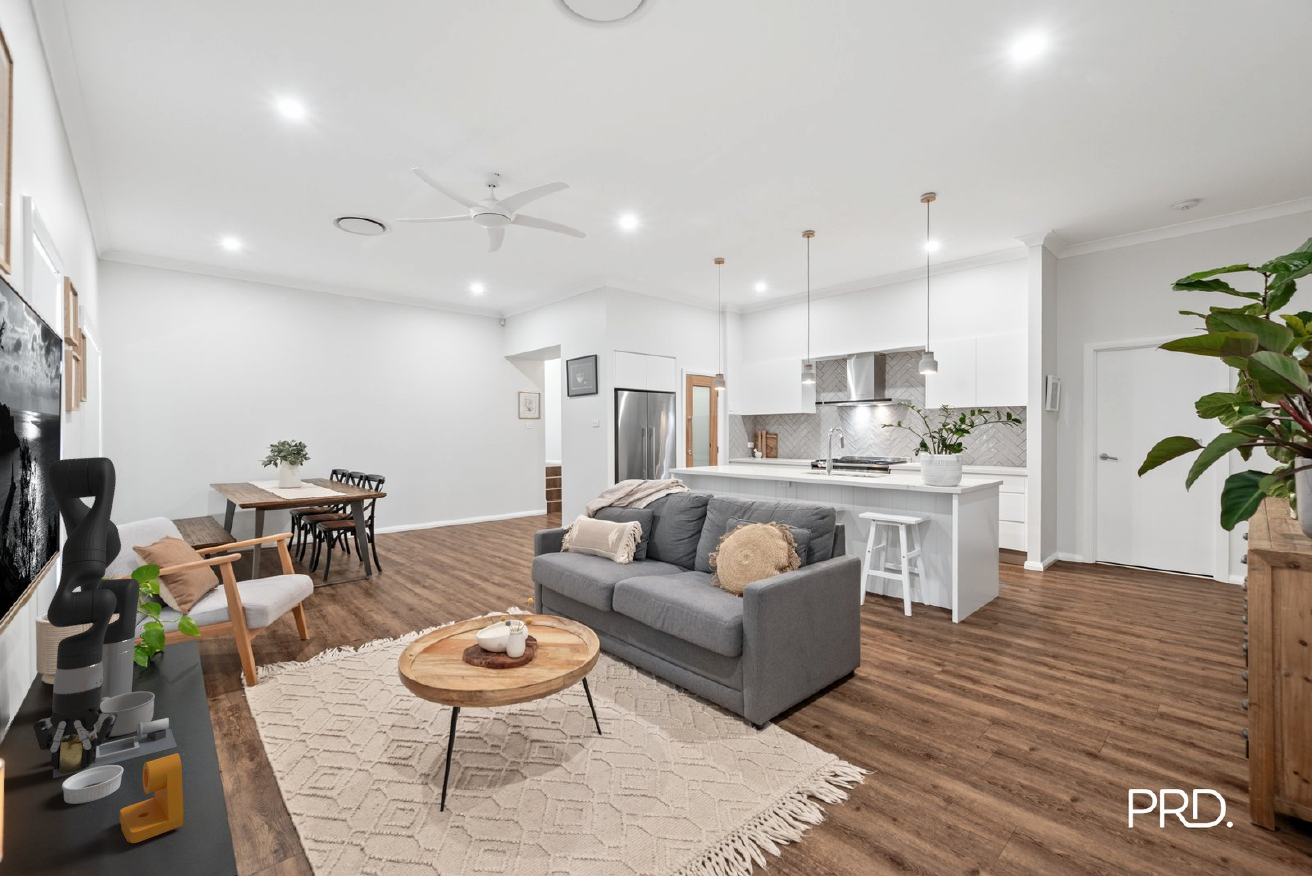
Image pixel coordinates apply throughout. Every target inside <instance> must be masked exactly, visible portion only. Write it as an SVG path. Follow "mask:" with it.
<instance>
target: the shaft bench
mask: <svg viewBox="0 0 1312 876" xmlns="http://www.w3.org/2000/svg"><path fill="white" fill-rule="evenodd" d="M169 719H170V718H169V717H164V718H162V719H160V718H159V719H156V720H153V721H152V720H151V722H147V723H143V724H142V722H141V723H138V726H137V731H136V733H137V734H136V735H134V736H131V737H127V738H121V739H118V740H114V741H109V742H103V743H102V744H101V745H100V746H97V747H96V759H95V761H93V762H92V764H90V765H89V766H88V767H84V768H83V769H80V770H78V771H74V772H70V773H60V772H59V769H55V770H54V767H52V776H53V777H52V778H53V779H55V778H61V777H64V776H67V775H71V774H75V773H76V774H77V773H80V772H82V771H85V770H88V769H91V768H95V767H100V766H106V765H113V764H115V763H119V762H123V761H126V760H131V759H134V758H139V757H144V756H147V755H152V754H154V753H159V752H161V751H166V750H171V749H174V748H177V747H178V745H177V743H176V740H175V738H174V734H173V732H172V728H169V727H170V720H169Z"/></svg>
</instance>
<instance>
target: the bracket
mask: <svg viewBox="0 0 1312 876" xmlns="http://www.w3.org/2000/svg"><path fill="white" fill-rule="evenodd" d="M182 769H183V768H182V761H181V755H180V754H179V753H178V752H177V753H173V754H171V755H166V756H163V757H159V758H157V759H153V760H150V761H147V762H144V764H143V767H142V786H143V791H144V793H145V794H146V795H147V794H150V793H154V797H152V798H149V799H146V800H143V801H139V802H136V803H134V804H131V805H127V806H125V807H123V808H121V809H120V810H119V823H120V825H121V827H120V830H121V832H122V833H123V836H124V838H125V839H126V842H127V843H130V844H136V843H139V842H140V843H141V842H142V841H145V840H149V839H151V838H153V837H156V836H158V835H161V834H163V833H166V832H169V831H172V830H175V829H177V828H180V827H182V826H184V815H185V814H184V792H183V790H184V789H183V771H182Z"/></svg>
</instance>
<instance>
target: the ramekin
mask: <svg viewBox="0 0 1312 876" xmlns="http://www.w3.org/2000/svg"><path fill="white" fill-rule="evenodd" d="M123 774H124V767H122V766H121V765H118V764H117V765H116V764H108V765H104V766H100V767H95V768H91V769H88V770H84V771H80V772H76V774H75V773H74V775H71V776H70V777H68V778H66V779H65V780H64V781H63V782H62V784H61V789H62V791H63V799H64V802H65V803H67V804H73V805H74V804H78V805H79V804H85V803H89V802H93V801H96V800H99V799H102V798H104V797H108V796H109V795H112V793H114V792H115V791H117V790H118V789H119V788H120V786H121V782H122V775H123Z"/></svg>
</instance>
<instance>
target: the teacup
mask: <svg viewBox="0 0 1312 876" xmlns="http://www.w3.org/2000/svg"><path fill="white" fill-rule="evenodd" d="M155 696H156V695H155V694H154V692H151V691H144V690H142V691H132V692H131V693H126V694H122V695H118V696H115V697H112V698H108V697H104V698H102V699H101V704H100V709H101V710H102V713H103V714H108V715H112V714H114V713H116V714H117V719H116V721H115V724H114V726H113V728H112V731H111V733H110V736H109V738H111V737H121V736H125V735H129V734H133V733H137V726H138V723H141V722H142V724H143V723H147V722H151V721H152V720H153V717H154V710H155ZM95 725H96V728H97V734H99V731H100V729H101V726H100V720H98V721H97V722H96V723H95Z"/></svg>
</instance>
